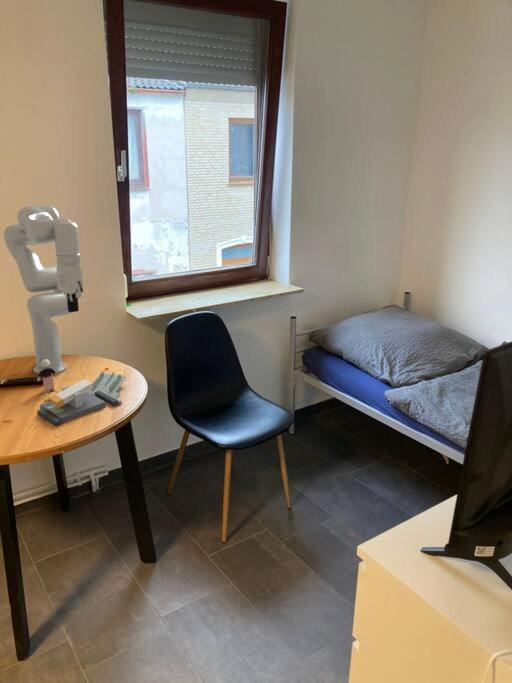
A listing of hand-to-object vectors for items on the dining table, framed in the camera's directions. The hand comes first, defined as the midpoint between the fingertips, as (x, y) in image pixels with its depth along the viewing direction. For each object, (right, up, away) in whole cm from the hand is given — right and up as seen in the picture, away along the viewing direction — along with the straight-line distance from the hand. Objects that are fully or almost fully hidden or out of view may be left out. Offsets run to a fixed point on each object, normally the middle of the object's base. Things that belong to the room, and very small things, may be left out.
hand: (73, 311), depth 189 cm
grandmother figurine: (-14, -29, +13) cm, 35 cm away
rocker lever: (0, -29, -1) cm, 29 cm away
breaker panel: (0, -34, 0) cm, 34 cm away
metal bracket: (+7, -29, +16) cm, 34 cm away
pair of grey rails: (+3, -34, 0) cm, 34 cm away
